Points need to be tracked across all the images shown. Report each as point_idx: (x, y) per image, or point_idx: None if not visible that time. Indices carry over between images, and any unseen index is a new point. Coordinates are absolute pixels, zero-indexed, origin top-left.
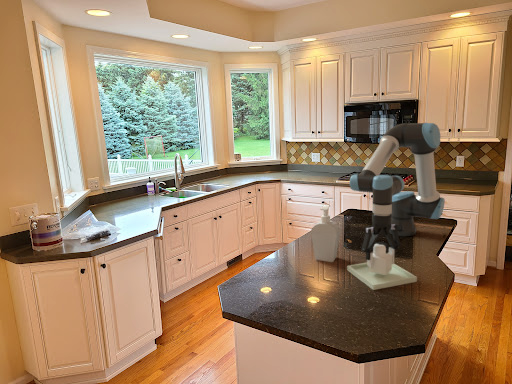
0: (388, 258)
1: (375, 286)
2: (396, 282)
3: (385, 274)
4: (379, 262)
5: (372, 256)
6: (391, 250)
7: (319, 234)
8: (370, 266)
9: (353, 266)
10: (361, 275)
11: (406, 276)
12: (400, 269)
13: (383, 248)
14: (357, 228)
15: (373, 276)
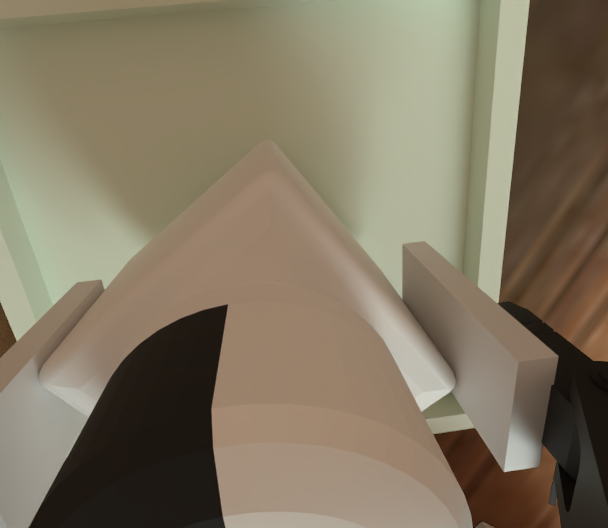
0: (181, 242)
1: None
2: None
3: (269, 141)
4: (343, 236)
5: (483, 318)
6: (4, 449)
7: None
8: (432, 254)
9: (433, 412)
10: (496, 218)
11: (6, 133)
12: (19, 263)
13: (304, 392)
14: None
15: (350, 224)
